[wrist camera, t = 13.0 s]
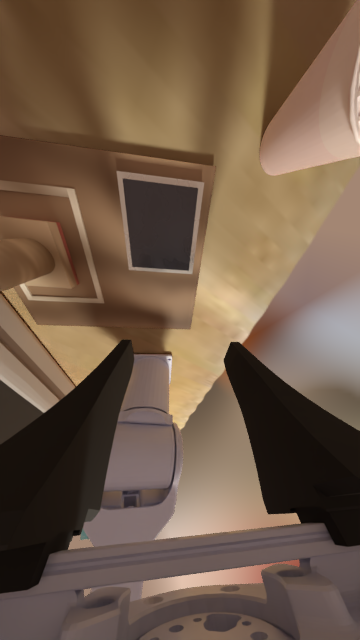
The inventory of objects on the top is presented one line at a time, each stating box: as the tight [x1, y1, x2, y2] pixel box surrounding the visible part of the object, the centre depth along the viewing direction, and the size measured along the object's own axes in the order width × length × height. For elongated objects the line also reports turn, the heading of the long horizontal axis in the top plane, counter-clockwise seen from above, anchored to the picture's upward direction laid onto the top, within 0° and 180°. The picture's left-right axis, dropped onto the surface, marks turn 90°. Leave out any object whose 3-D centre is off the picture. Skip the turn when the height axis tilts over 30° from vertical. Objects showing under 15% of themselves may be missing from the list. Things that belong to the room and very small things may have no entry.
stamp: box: [0, 216, 80, 291], centre depth 12 cm, size 6×4×6 cm
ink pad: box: [117, 171, 204, 274], centre depth 13 cm, size 8×7×1 cm
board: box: [0, 135, 216, 329], centre depth 16 cm, size 18×22×1 cm
